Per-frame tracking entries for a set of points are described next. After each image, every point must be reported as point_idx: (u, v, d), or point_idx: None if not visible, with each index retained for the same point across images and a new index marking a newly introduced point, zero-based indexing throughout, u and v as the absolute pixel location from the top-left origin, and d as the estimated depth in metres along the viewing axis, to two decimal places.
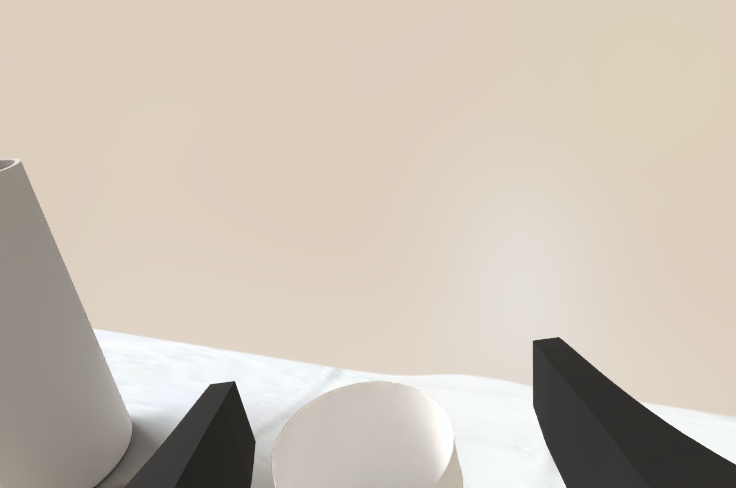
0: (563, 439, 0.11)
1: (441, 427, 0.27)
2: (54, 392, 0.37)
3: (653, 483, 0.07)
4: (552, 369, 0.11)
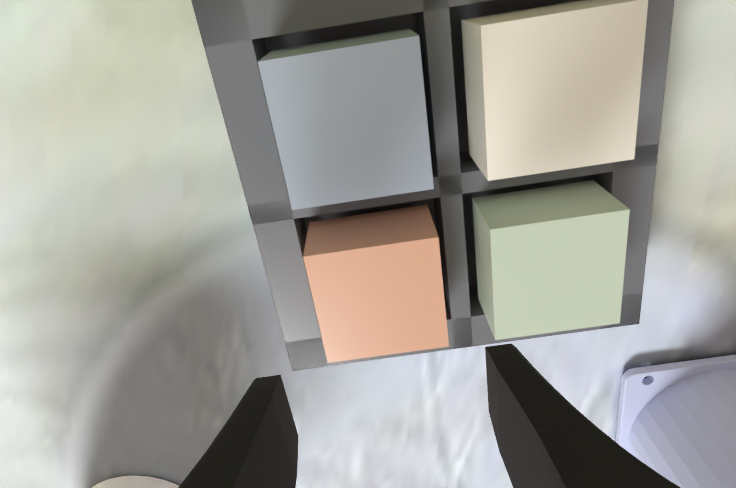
0: (511, 446, 0.11)
1: None
2: None
3: None
4: (499, 376, 0.11)
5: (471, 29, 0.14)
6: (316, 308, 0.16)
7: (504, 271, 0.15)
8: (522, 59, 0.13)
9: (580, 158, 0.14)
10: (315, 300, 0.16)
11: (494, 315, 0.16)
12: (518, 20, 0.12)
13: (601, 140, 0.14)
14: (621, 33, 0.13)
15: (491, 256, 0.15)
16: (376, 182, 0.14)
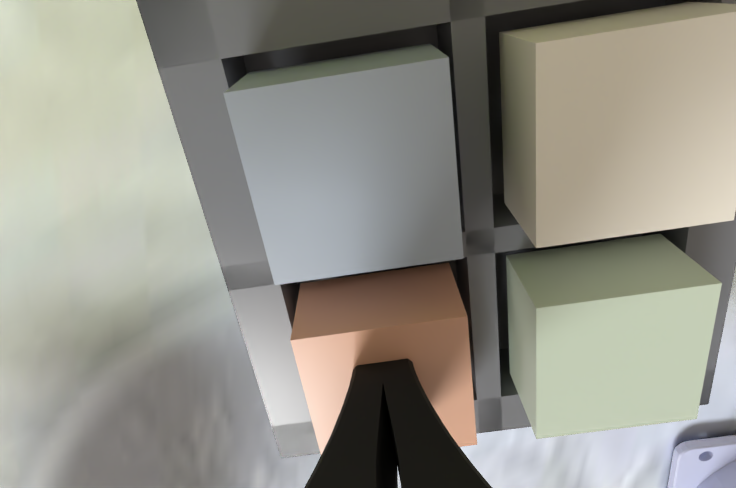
0: (397, 460, 0.11)
1: None
2: None
3: None
4: (384, 391, 0.11)
5: (517, 46, 0.10)
6: (308, 401, 0.12)
7: (552, 358, 0.12)
8: (591, 90, 0.09)
9: (661, 219, 0.10)
10: (306, 392, 0.12)
11: (536, 410, 0.13)
12: (588, 36, 0.09)
13: (692, 196, 0.10)
14: (730, 54, 0.09)
15: (536, 340, 0.12)
16: (387, 250, 0.11)
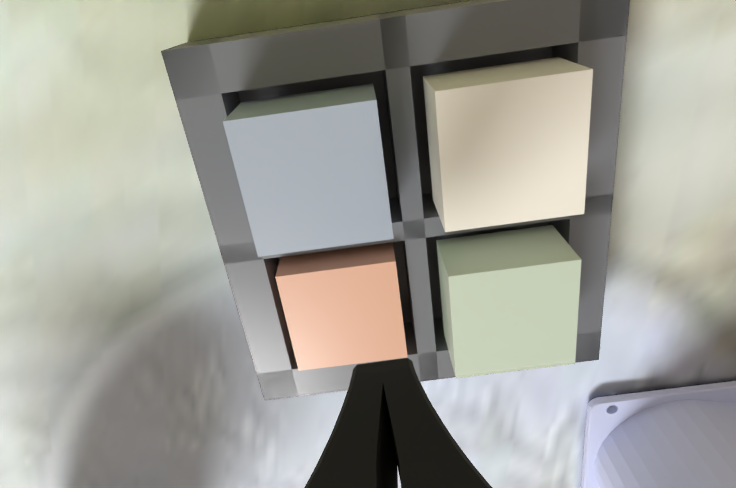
0: (397, 460, 0.11)
1: None
2: None
3: None
4: (384, 391, 0.11)
5: (429, 90, 0.14)
6: (287, 322, 0.18)
7: (463, 315, 0.16)
8: (475, 123, 0.13)
9: (533, 212, 0.15)
10: (286, 315, 0.18)
11: (454, 355, 0.17)
12: (470, 87, 0.13)
13: (552, 196, 0.14)
14: (568, 99, 0.13)
15: (450, 301, 0.16)
16: (338, 232, 0.15)
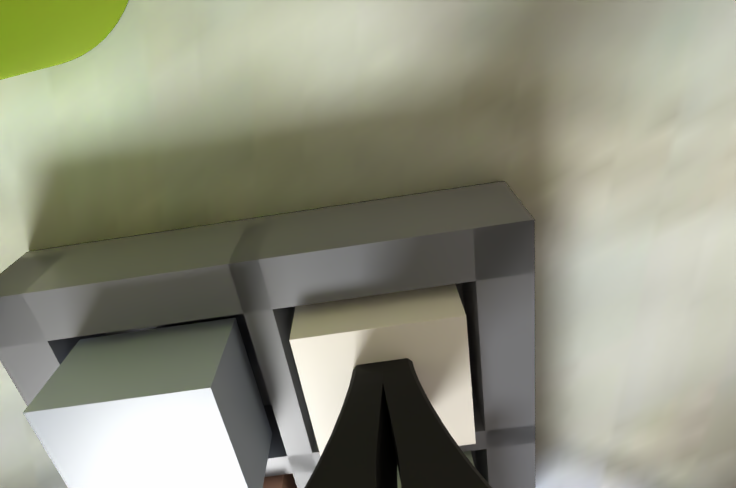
0: (397, 460, 0.11)
1: None
2: None
3: None
4: (384, 391, 0.11)
5: None
6: None
7: None
8: (340, 366, 0.12)
9: None
10: None
11: None
12: (329, 334, 0.12)
13: None
14: (442, 344, 0.12)
15: None
16: None
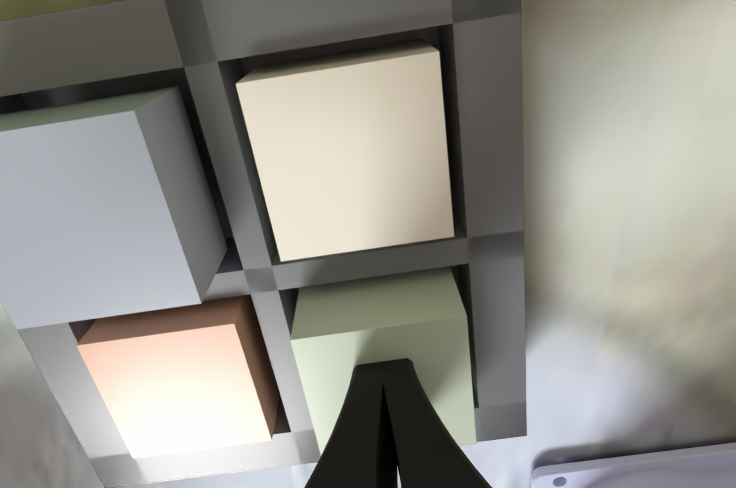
0: (397, 460, 0.11)
1: None
2: None
3: None
4: (384, 391, 0.11)
5: None
6: (105, 401, 0.14)
7: (318, 387, 0.12)
8: (295, 124, 0.10)
9: (388, 236, 0.12)
10: (102, 393, 0.13)
11: (316, 436, 0.13)
12: (281, 77, 0.10)
13: (410, 215, 0.11)
14: (412, 92, 0.10)
15: (299, 370, 0.12)
16: (121, 295, 0.11)
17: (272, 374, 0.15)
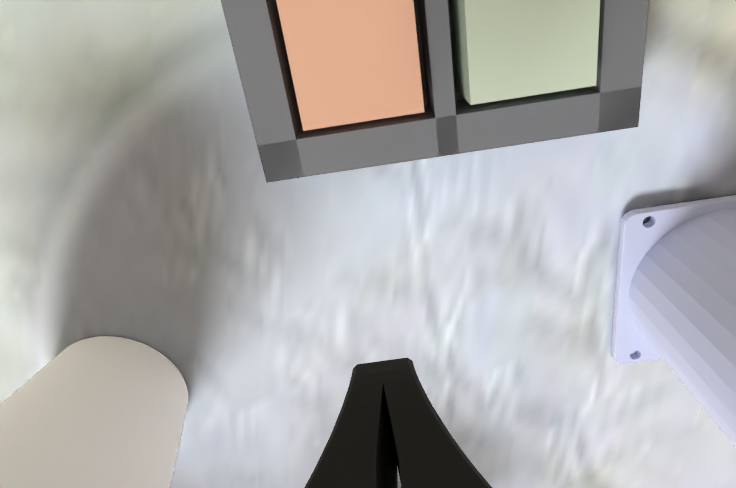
0: (397, 460, 0.11)
1: None
2: None
3: None
4: (384, 391, 0.11)
5: None
6: (290, 61, 0.16)
7: (478, 18, 0.15)
8: None
9: None
10: (289, 52, 0.16)
11: (469, 73, 0.16)
12: None
13: None
14: None
15: (464, 0, 0.15)
16: None
17: None
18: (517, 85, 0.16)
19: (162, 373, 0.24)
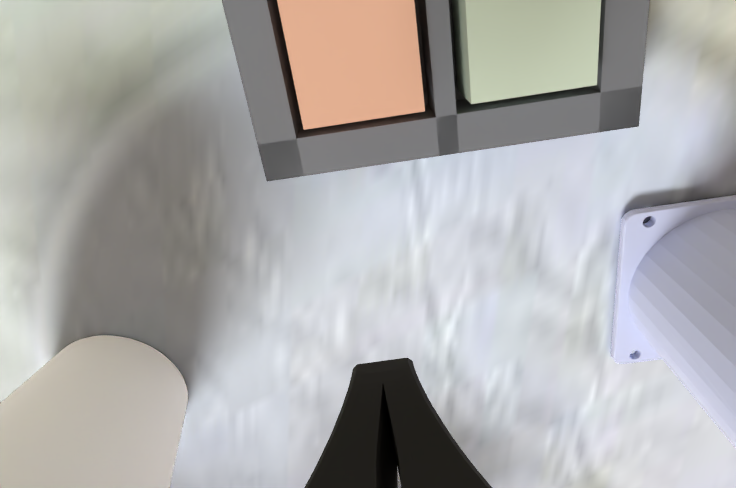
0: (397, 460, 0.11)
1: None
2: None
3: None
4: (384, 391, 0.11)
5: None
6: (290, 60, 0.16)
7: (478, 17, 0.15)
8: None
9: None
10: (289, 51, 0.16)
11: (470, 73, 0.16)
12: None
13: None
14: None
15: None
16: None
17: None
18: (518, 84, 0.16)
19: (162, 372, 0.24)
